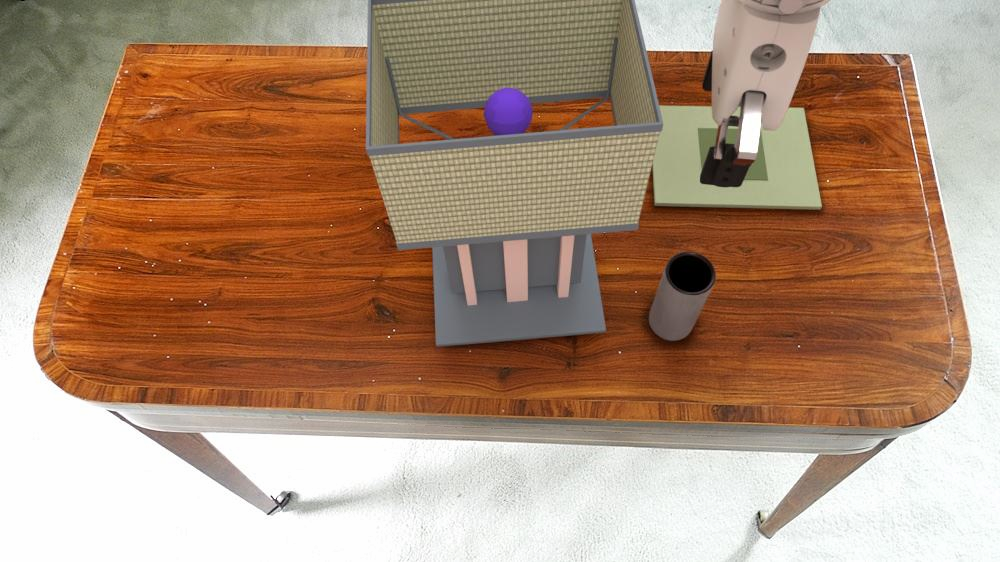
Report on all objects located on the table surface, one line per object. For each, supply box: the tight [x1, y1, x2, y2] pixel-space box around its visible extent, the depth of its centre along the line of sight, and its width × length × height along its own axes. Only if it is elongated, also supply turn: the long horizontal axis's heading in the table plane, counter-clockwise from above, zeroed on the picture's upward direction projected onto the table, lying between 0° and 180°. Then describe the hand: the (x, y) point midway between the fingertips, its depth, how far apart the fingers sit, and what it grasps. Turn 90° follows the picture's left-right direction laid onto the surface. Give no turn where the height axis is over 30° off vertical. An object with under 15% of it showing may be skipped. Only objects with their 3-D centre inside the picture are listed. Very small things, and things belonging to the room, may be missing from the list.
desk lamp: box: [365, 0, 663, 348], centre depth 62 cm, size 18×14×33 cm
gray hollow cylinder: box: [648, 250, 717, 342], centre depth 69 cm, size 4×4×10 cm
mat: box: [651, 105, 823, 211], centre depth 83 cm, size 18×14×1 cm
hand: (720, 134), depth 59 cm, fingers open, 9 cm apart
